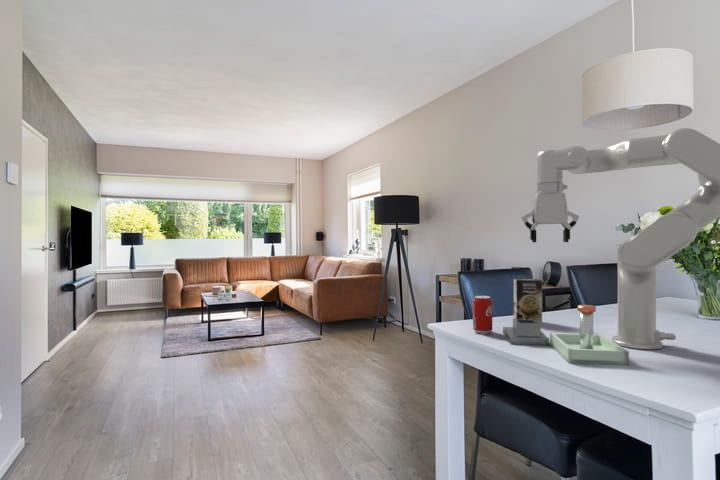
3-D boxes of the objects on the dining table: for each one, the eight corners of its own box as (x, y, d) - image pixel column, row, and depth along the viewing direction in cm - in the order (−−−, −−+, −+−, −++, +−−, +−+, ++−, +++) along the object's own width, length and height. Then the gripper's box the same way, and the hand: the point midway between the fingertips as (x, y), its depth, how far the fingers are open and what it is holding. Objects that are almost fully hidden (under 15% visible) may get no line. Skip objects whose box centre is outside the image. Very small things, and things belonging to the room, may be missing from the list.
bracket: (537, 334, 139) (537, 315, 139) (548, 345, 125) (548, 324, 125) (503, 332, 141) (502, 315, 141) (510, 343, 127) (509, 323, 127)
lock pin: (592, 348, 117) (592, 304, 117) (598, 353, 113) (598, 307, 112) (575, 348, 118) (575, 304, 118) (580, 352, 113) (580, 307, 113)
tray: (601, 346, 123) (601, 334, 123) (628, 365, 105) (628, 351, 105) (550, 344, 125) (550, 333, 125) (568, 363, 108) (568, 349, 108)
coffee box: (516, 324, 154) (516, 280, 154) (513, 320, 161) (512, 278, 161) (542, 324, 153) (542, 280, 153) (538, 321, 159) (538, 278, 159)
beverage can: (493, 334, 139) (493, 298, 139) (473, 333, 140) (473, 297, 140) (491, 330, 145) (491, 295, 145) (472, 329, 146) (472, 295, 146)
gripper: (574, 189, 138) (574, 241, 138) (519, 191, 141) (519, 242, 141) (582, 187, 131) (582, 242, 131) (523, 188, 134) (524, 242, 134)
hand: (549, 242), depth 136 cm, fingers open, 9 cm apart
